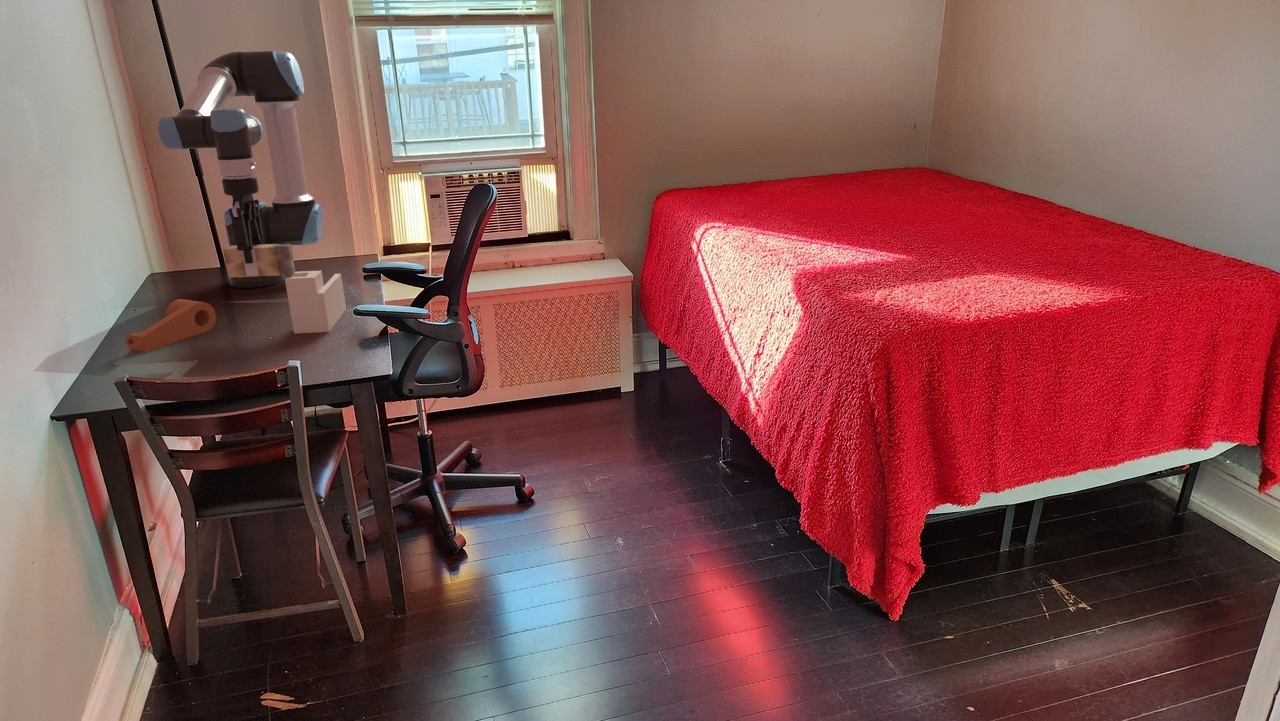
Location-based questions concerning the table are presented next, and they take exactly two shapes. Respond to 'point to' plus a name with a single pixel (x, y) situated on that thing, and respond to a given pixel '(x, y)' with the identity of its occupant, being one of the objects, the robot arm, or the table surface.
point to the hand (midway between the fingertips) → (256, 273)
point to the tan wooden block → (261, 260)
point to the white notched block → (314, 301)
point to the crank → (175, 325)
